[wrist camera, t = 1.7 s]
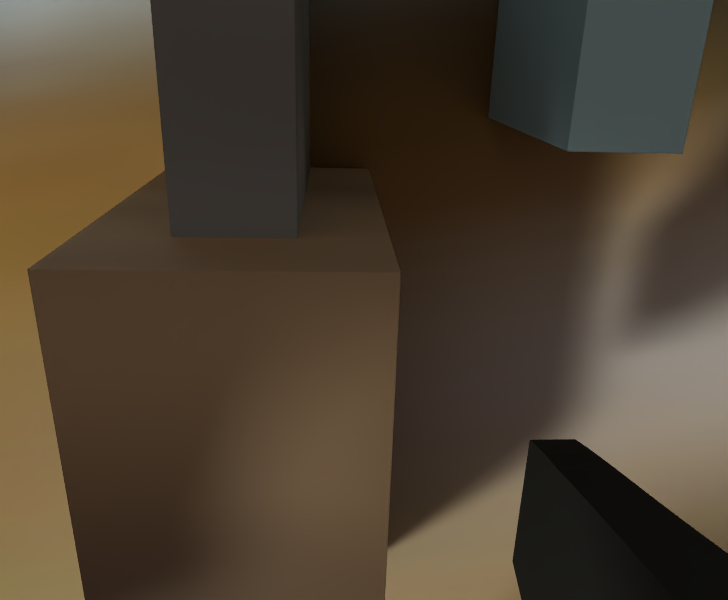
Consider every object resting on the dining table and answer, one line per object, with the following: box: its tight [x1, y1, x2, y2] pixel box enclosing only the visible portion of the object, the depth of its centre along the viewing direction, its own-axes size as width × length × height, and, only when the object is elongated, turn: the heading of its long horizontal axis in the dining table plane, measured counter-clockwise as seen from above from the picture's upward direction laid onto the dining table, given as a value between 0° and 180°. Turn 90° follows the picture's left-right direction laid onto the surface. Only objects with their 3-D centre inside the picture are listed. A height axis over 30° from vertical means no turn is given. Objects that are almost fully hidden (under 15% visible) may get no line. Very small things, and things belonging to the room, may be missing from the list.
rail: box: [27, 0, 401, 600], centre depth 8 cm, size 12×3×5 cm, turn 178°
